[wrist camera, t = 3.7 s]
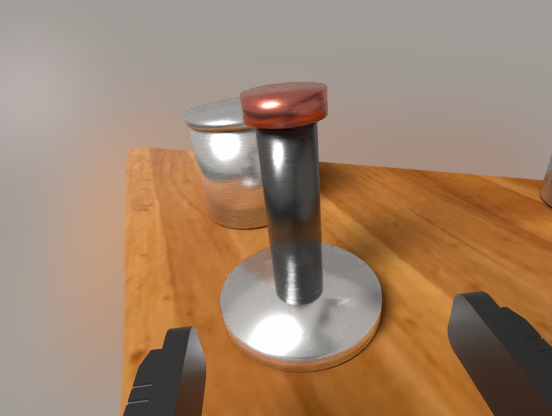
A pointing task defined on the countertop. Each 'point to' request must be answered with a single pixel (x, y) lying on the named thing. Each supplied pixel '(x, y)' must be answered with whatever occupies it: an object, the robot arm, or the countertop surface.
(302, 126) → the lid
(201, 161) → the pot
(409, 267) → the countertop surface
